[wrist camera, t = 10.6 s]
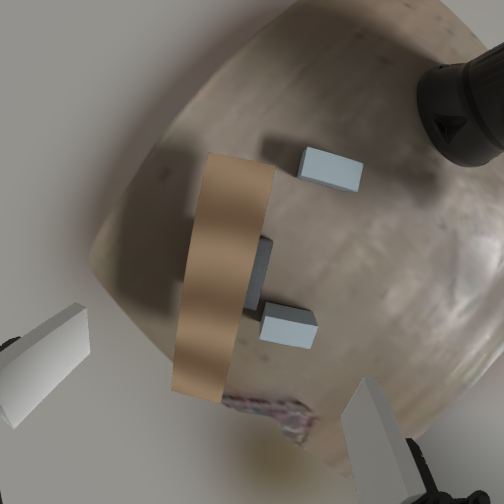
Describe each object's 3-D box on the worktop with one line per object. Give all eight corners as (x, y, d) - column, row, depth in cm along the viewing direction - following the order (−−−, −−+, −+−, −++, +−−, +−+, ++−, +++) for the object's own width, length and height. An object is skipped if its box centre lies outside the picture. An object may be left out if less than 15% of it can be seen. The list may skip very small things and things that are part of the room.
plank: (218, 159, 23) (208, 152, 19) (274, 171, 23) (276, 166, 19) (181, 368, 27) (171, 390, 23) (225, 379, 27) (220, 403, 23)
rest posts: (302, 152, 29) (307, 146, 25) (351, 167, 29) (363, 163, 25) (260, 323, 33) (259, 339, 29) (305, 332, 33) (310, 348, 29)
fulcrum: (204, 224, 31) (187, 232, 24) (272, 240, 31) (274, 253, 24) (193, 288, 33) (175, 311, 26) (256, 303, 33) (254, 331, 26)
